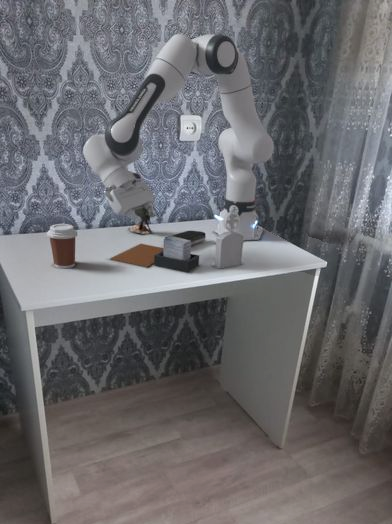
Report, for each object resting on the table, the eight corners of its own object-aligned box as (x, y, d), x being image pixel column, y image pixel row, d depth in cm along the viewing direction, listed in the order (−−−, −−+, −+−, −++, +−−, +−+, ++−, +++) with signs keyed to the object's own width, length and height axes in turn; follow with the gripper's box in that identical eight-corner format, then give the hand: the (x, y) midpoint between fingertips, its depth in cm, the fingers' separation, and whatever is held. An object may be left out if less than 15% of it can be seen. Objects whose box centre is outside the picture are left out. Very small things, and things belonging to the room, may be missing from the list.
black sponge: (180, 251, 173) (181, 241, 172) (162, 246, 178) (162, 236, 176) (207, 242, 185) (208, 232, 183) (189, 237, 189) (190, 228, 188)
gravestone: (240, 264, 165) (246, 209, 156) (219, 268, 160) (223, 212, 151) (235, 261, 167) (240, 208, 158) (214, 266, 162) (218, 210, 153)
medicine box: (190, 266, 160) (191, 240, 156) (182, 270, 156) (183, 243, 152) (171, 261, 163) (171, 235, 159) (162, 264, 160) (163, 238, 156)
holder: (165, 258, 165) (166, 248, 164) (198, 265, 161) (199, 255, 160) (154, 265, 159) (154, 255, 157) (188, 272, 155) (188, 262, 153)
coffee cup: (47, 261, 157) (44, 223, 151) (76, 258, 160) (73, 222, 154) (52, 270, 150) (48, 231, 144) (82, 268, 153) (80, 229, 147)
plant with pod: (137, 237, 186) (137, 182, 176) (126, 229, 194) (125, 176, 185) (156, 235, 189) (157, 181, 180) (145, 227, 198) (145, 176, 188)
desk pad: (140, 244, 178) (140, 243, 177) (175, 251, 173) (175, 250, 173) (110, 259, 161) (110, 258, 161) (147, 267, 157) (147, 266, 157)
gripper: (107, 182, 146) (136, 220, 147) (142, 173, 162) (167, 207, 164) (95, 195, 150) (123, 232, 151) (131, 185, 166) (155, 219, 167)
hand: (147, 219), depth 157 cm, fingers open, 8 cm apart
